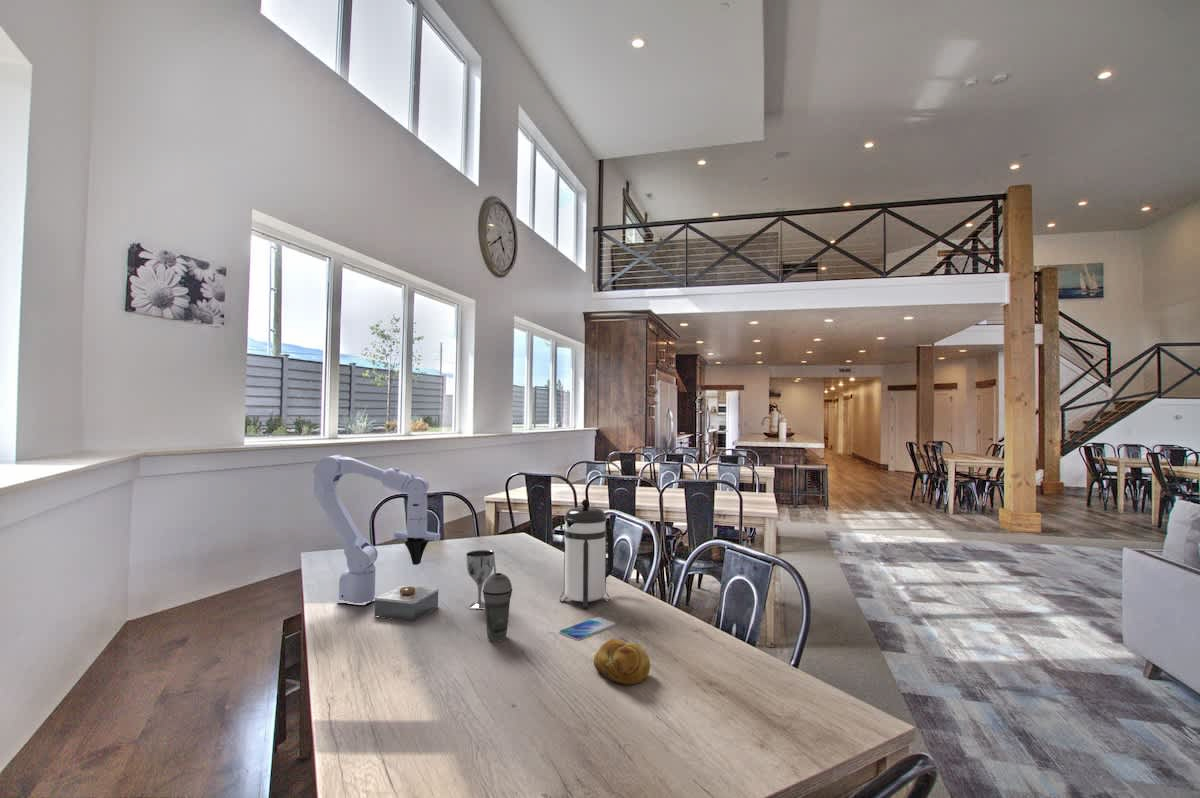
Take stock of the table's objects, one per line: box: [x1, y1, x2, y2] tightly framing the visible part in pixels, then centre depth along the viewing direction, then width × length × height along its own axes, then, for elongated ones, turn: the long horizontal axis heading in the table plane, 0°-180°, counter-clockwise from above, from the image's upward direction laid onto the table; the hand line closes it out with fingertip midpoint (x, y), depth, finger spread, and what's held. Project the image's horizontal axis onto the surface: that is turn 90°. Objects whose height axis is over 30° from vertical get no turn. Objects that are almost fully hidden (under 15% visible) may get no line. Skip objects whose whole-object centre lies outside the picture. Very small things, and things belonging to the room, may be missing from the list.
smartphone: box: [558, 616, 618, 641], centre depth 143 cm, size 7×1×15 cm
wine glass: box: [465, 549, 495, 608], centre depth 160 cm, size 8×8×15 cm
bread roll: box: [593, 638, 651, 686], centre depth 117 cm, size 13×10×8 cm
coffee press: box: [559, 498, 615, 610], centre depth 166 cm, size 17×16×30 cm
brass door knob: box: [400, 586, 416, 595], centre depth 154 cm, size 10×10×6 cm
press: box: [374, 584, 439, 622], centre depth 155 cm, size 12×14×5 cm
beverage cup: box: [482, 554, 513, 642], centre depth 137 cm, size 7×7×20 cm
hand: (416, 563), depth 165 cm, fingers closed
